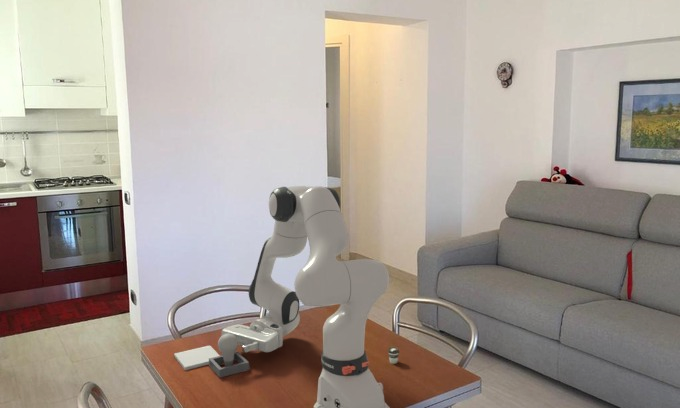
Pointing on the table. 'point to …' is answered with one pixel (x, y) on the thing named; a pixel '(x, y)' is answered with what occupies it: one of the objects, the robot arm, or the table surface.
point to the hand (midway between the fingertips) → (232, 346)
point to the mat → (195, 357)
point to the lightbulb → (228, 348)
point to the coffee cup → (393, 354)
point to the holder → (229, 370)
